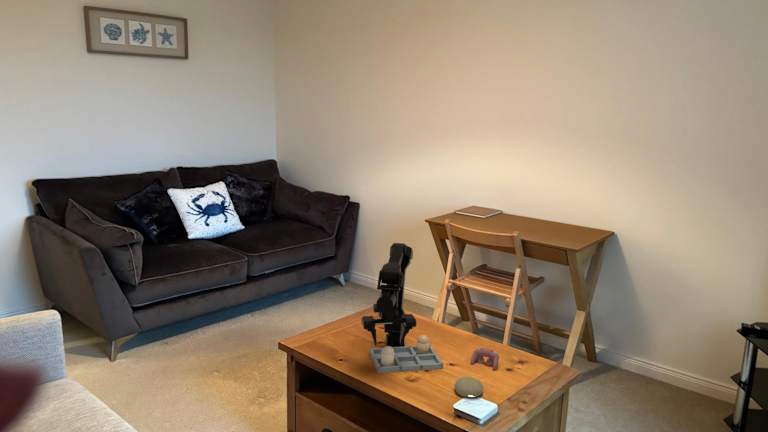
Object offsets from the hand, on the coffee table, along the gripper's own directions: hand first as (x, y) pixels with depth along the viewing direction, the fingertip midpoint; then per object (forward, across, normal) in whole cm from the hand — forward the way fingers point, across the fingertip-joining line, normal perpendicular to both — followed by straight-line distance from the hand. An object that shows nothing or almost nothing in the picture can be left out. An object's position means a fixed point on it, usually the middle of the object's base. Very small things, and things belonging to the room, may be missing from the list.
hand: (388, 344), depth 209 cm
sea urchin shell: (+10, -23, +21) cm, 33 cm away
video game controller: (+9, -36, +3) cm, 37 cm away
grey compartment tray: (+9, -8, -4) cm, 13 cm away
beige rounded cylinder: (+9, -15, -8) cm, 19 cm away
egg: (+9, 0, 0) cm, 9 cm away
